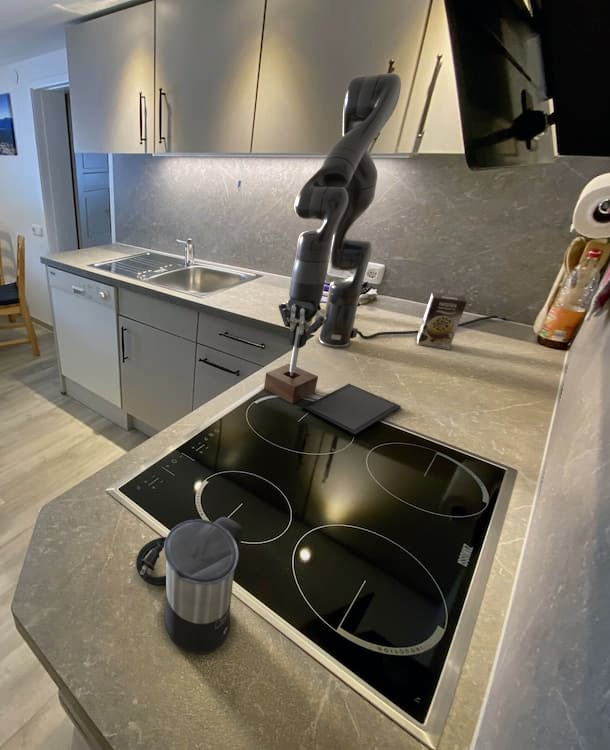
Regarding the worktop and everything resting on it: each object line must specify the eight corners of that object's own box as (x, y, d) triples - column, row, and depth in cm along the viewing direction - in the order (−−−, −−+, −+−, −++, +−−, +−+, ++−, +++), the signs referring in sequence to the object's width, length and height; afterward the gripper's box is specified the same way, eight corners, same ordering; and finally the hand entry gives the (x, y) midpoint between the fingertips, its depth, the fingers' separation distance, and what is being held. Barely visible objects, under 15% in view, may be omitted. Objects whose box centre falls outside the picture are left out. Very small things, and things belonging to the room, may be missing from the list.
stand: (286, 379, 118) (288, 363, 115) (314, 392, 111) (318, 376, 108) (263, 388, 113) (265, 372, 111) (292, 403, 106) (295, 386, 104)
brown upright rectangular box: (417, 344, 137) (432, 297, 129) (416, 337, 142) (431, 291, 134) (449, 349, 133) (467, 301, 125) (448, 342, 138) (464, 295, 130)
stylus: (291, 373, 110) (299, 325, 104) (295, 375, 109) (303, 327, 103) (287, 375, 110) (295, 327, 103) (292, 377, 109) (300, 328, 102)
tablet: (348, 386, 114) (349, 383, 113) (400, 408, 103) (401, 405, 103) (302, 409, 104) (302, 406, 103) (354, 437, 93) (355, 433, 93)
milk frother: (221, 668, 52) (231, 594, 45) (109, 623, 57) (102, 550, 50) (242, 573, 64) (252, 503, 57) (147, 543, 69) (145, 475, 62)
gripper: (344, 282, 94) (329, 351, 102) (294, 270, 104) (284, 334, 112) (324, 287, 91) (310, 359, 99) (274, 275, 100) (266, 340, 109)
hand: (296, 345), depth 106 cm, fingers closed on stylus, 1 cm apart
